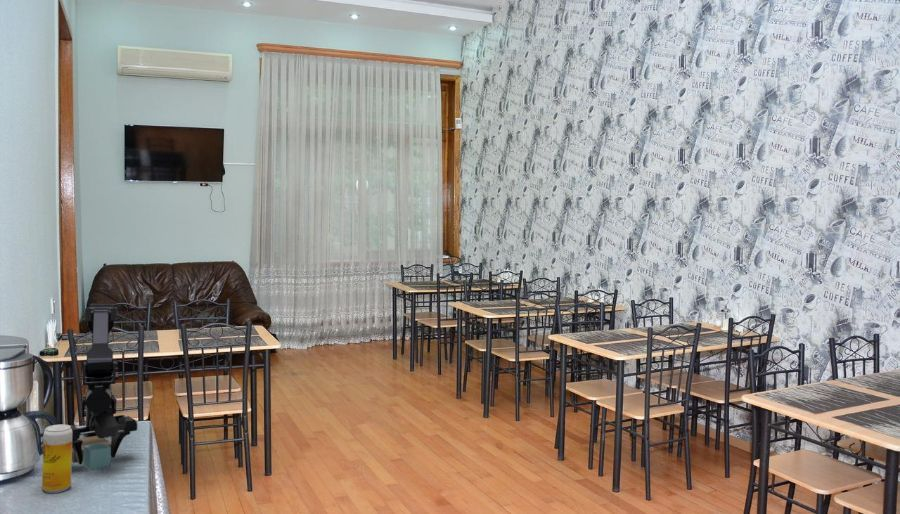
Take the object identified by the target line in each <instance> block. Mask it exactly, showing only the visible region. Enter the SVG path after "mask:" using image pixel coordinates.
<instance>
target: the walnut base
mask: <svg viewBox="0 0 900 514" xmlns="http://www.w3.org/2000/svg"><path fill="white" fill-rule="evenodd" d="M80 440H82V441H83V443H82V446H81V447H82V462H83V454H84V446H86V445H91V444H97V443H103V442H104V443H105V444H107V445H108V446H110V447H111V441H109V440H107V439H106V437H105V438H98V437H97V436H92V437H86V436H85V437H80ZM110 456H111V452H110ZM72 463H78V460H77V458H76V455H75V453H74V451H73V448H72Z"/></svg>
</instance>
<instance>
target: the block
mask: <svg viewBox="0 0 900 514" xmlns="http://www.w3.org/2000/svg"><path fill="white" fill-rule="evenodd" d="M110 452H111V447H110V446H108V445H107V444H105V443H104V442H103V443H97V444H91V445H86V446H84V454H83V461H82V464H83V466H85V467H87V469H89V470H94V469H101V468H104V467H108V466H109V467H111V455H110Z"/></svg>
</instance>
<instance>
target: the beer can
mask: <svg viewBox="0 0 900 514" xmlns="http://www.w3.org/2000/svg"><path fill="white" fill-rule="evenodd" d="M42 437H43V438H42V439H43V440H42V442H43V443H42V473H41V475H42V476H41V477H42V480H41V482H42V483H41V484H42V485H41V488H42V489H43V490H44V491H45V492H46V493H49V494H57V493H61V492H66V491H67V490H68V489H69V487H70V486H71V485H72V468H73V467H72V465H73V464H72V463H73V462H72V429H71V426H70V425H69V424H53V425H48V426H47V427H46V428H45V429H44V431H43V436H42Z"/></svg>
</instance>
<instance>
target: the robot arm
mask: <svg viewBox="0 0 900 514" xmlns="http://www.w3.org/2000/svg"><path fill="white" fill-rule="evenodd" d="M113 305H114V304H113V303H90V304H89V306H88V307H84V321H85V322H86V321H87V324H86V325H87V326H86V327H87V329H88V330H89V332H90V333H91V335H92V337H91V339H92V340H91V341H92V343H91V347H90V348H89V349H88V350H87V352H86V359H85V360H83V366H82V368H83V370H82V386H86V388H85V395H84V396H82V407H81V408H82V409H81V412H82V413H81V416H82V418H84V417H85V420H84V421H83V425H84V427H76V426H75V425H74V424H71V425H70V426H71V429H72V448H73V451H74V453H75V455H76V458H77V460H78V462H77V463H78V465H82V464H83V461H82V447H81V446H82V443H83V441H82V440H80V438H81V436H85V438H86V437H92V436H97V437H98V438H105V439H106V438H107V437H111V438H110V440H111V441H110V442H111V455H110V458H112V459H114V458H115V457H116V455H117V453H118V450H119V447H120V445H121V443H122V442H123V439H124V438H125V437H127V436H128V435H130V434H131V433H132V432H135V431H136V432H137V430H138V422H137V420H136V419H134V418H133V417H131V416H129V415H128V416H127V415H124V414H120V415H115V414H117V399H116V397H115V394H113V392H112V390H113V389H112V385H115V384H116V381H117V380H119V363H118V362H117V359H116V358H115V359H114V351H113V349H111V348H110V347H109V334H110V332H111V331H112V330H113V328H114V326H115V321H117V320H118V319H117V318H118V307H115V306H113Z"/></svg>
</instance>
